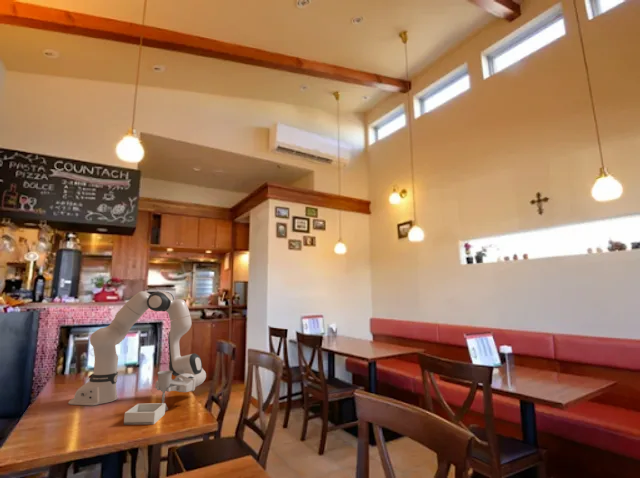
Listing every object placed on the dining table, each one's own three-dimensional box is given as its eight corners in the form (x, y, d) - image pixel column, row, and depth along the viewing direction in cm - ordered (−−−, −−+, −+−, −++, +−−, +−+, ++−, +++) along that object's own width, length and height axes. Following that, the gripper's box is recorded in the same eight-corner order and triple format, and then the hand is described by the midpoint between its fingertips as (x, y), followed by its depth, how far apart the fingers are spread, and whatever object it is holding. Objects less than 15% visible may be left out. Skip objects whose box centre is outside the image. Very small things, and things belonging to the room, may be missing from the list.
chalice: (154, 413, 168) (157, 374, 171) (154, 408, 174) (157, 371, 177) (170, 410, 172) (173, 372, 174) (169, 406, 178) (172, 370, 180)
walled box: (123, 424, 153) (124, 412, 154) (137, 414, 166) (138, 403, 167) (153, 424, 154) (154, 412, 155) (164, 414, 167) (165, 403, 167)
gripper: (167, 374, 190) (147, 380, 178) (197, 378, 184) (179, 384, 171) (166, 386, 190) (146, 393, 177) (197, 390, 183) (178, 398, 170)
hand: (162, 389), depth 174 cm, fingers closed on chalice, 5 cm apart
